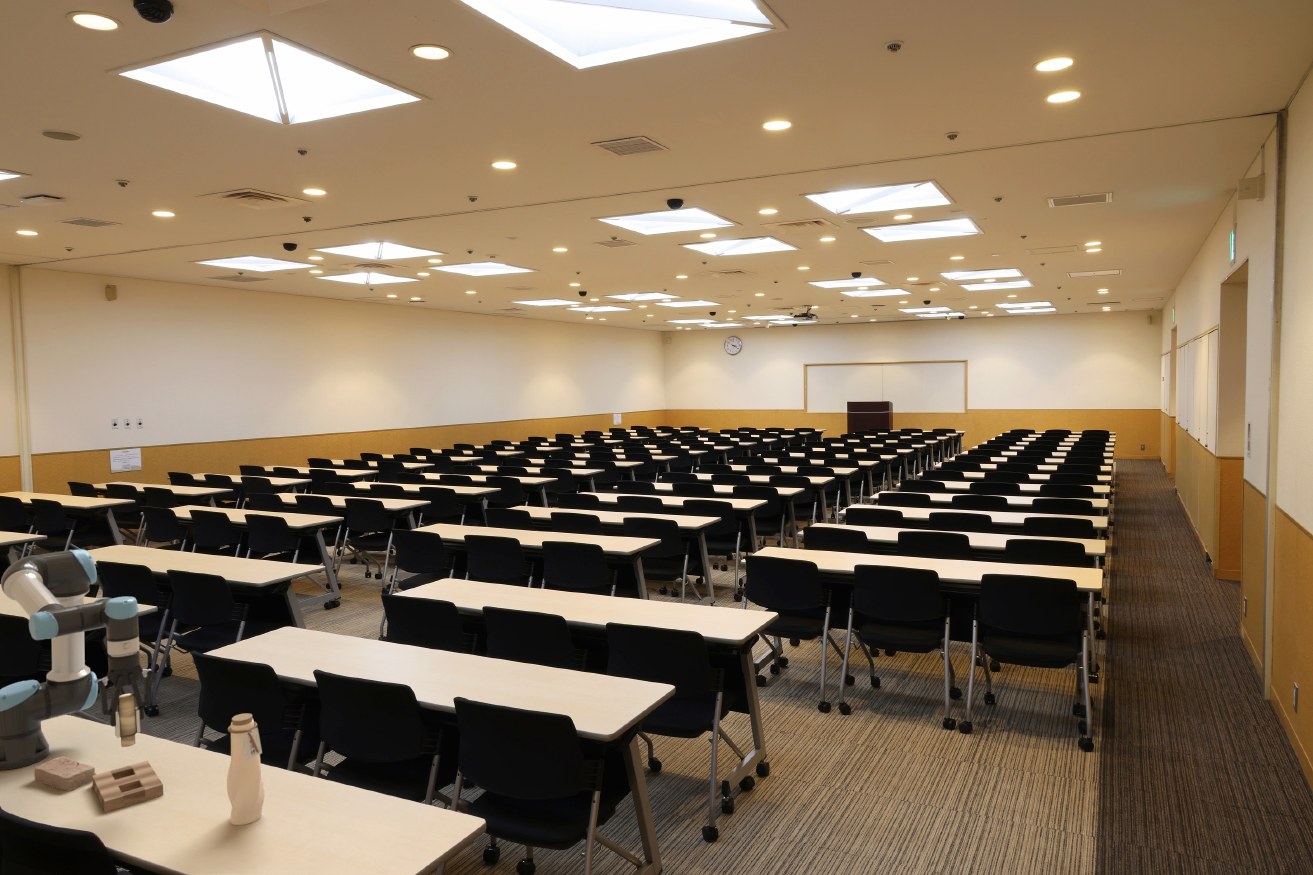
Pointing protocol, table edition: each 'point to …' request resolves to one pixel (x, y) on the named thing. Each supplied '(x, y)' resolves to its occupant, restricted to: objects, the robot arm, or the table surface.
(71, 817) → the table surface
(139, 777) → the board
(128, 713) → the peg
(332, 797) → the table surface
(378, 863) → the table surface
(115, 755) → the table surface
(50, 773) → the brick
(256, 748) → the water bottle
